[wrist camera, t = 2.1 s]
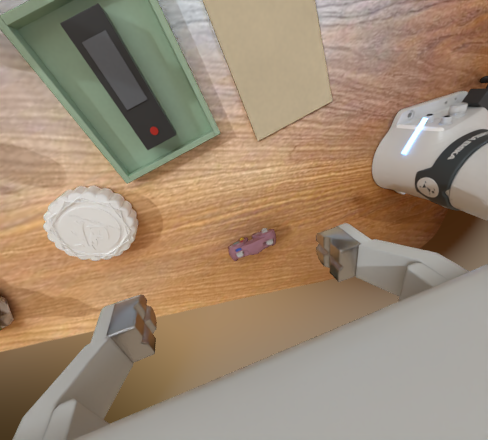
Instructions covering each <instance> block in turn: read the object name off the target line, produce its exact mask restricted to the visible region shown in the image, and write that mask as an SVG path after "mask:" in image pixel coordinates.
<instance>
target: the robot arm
mask: <svg viewBox="0 0 488 440" xmlns="http://www.w3.org/2000/svg"><path fill="white" fill-rule="evenodd" d="M480 82H481V83H486V82H487V83H488V76H485V77H483V78H482V79H481V80H480ZM372 175H373V178H374V181H375V182H376V184H377V185H378V186H380V187H382V188H386V189H392V190H395V191H396V192H397V193H399V194H410V195H413V196H416V197H420V198H423V199H427V200H430V201H432V202H434V203H436V204H439V205H441V206H442V207H445V208H449V209H452V210H462V211H464V212H467V213H469V214H472V215H474V216H477V217H479V218H482V219H484V220H487V221H488V85H487V87H486V89H471V90H470V91H469V92H466V91H459V92H456V93H452V94H449V95H446V96H443V97H440V98H437V99H433V100H430V101H427V102H424V103H421V104H417V105H414V106H411V107H408V108H405V109H402V110H400V111H399V112H398V113H397V115H396V116H395V119H394V121H393V123H392V126H391V128H390V130H389V131H388V133H387V134H386V135H385V137H384V138H383V139H382V141H381V143H380V144H379V146H378V148H377V150H376V152H375V155H374V158H373V163H372ZM316 241H317V242H318V243H319V244H318V246H317V247H316V252H317V256H318V259H319V260H320V262H321V263H322V264H323V265H324V266H325V267H328V268H330V273H331V274H332V275H333V276H334V277H335V278H336V279H337V281H338V282H340V281H343V280H346V279H349V278H352V277H354V276H356V277H357V278H359V279H362V280H364V281H366V282H368V283H370V284H372V285H375V286H377V287H379V288H381V289H383V290H386V291H388V292H390V293H392V294H395V295H397V296H399V300H398V302H397V303H394V304H392V305H389V306H387V307H385V308H382V309H380V310H378V311H375V312H373V313H370V314H368V315H366V316H363V317H361V318H359V319H356V320H354V321H352V322H349V323H347V324H344V325H342V326H340V327H337V328H335V329H333V330H330V331H328V332H326V333H323V334H321V335H319V336H316V337H314V338H311V339H309V340H307V341H304V342H302V343H300V344H297V345H295V346H293V347H291V348H288V349H286V350H283V351H281V352H278V353H276V354H274V355H271V356H269V357H267V358H265V359H262V360H260V361H257V362H255V363H252V364H250V365H248V366H246V367H243V368H241V369H238V370H236V371H234V372H231V373H229V374H226V375H224V376H222V377H219V378H217V379H215V380H213V381H210V382H208V383H206V384H203V385H200V386H198V387H196V388H194V389H191V390H189V391H186V392H184V393H182V394H179V395H177V396H174V397H172V398H170V399H167V400H165V401H163V402H160V403H158V404H156V405H153V406H151V407H148V408H146V409H144V410H141V411H139V412H137V413H135V414H132V415H130V416H128V417H125V418H123V419H120V420H118V421H115V422H113V423H111V424H109V423H107V422H106V421H105V420H103V419H104V417H105V415H106V414H107V412H108V410H109V408H110V406H111V405H112V403H113V401H114V399H115V397H116V395H117V393H118V391H119V390H120V388H121V386H122V384H123V382H124V381H125V379H126V377H127V375H128V373H129V371H130V369H131V368H132V366H133V363H134V362H136V361H139V360H141V359H143V358H146V357H148V356H150V355H153V354H154V353H155V342H156V338H155V337H154V335H153V333H154V331H155V330H156V323H157V322H156V316H155V313H154V311H153V309H152V307H150V306H148V305H146V304H147V299H146V298H145V297H144V295H138V296H135V297H132V298H129V299H126V300H122V301H119V302H117V303H114V304H111V305H108V306H105V307H104V308H103V309H102V310H101V313H100V316H99V319H98V322H97V325H96V328H95V331H94V334H93V337H92V340H91V343H90V344H88V345H86V346H85V347H84V348H83V349H82V351H81V352H80V353H79V354H78V355H77V356H76V357H75V359H74V360H73V361H72V362H71V363H70V364H69V366H68V367H67V368H66V369H65V370H64V371H63V372H62V374H61V375H60V376H59V377H58V378H57V379H56V380H55V381H54V382H53V384H52V385H51V386H50V387H49V388H48V389H47V391H46V392H45V393H44V394H43V395H42V396H41V397H40V398H39V400H38V401H37V402H36V403H35V404H34V405H33V406H32V408H31V409H30V410H29V411H28V412H27V413H26V414H25V416H24V417H23V418H22V420H21V423H20V425H19V427H18V429H17V431H16V434H15V436H14V438H13V440H488V264H486V265H484V266H481V267H479V268H477V269H474V270H472V271H470V272H469V271H468V270H466V269H464V268H462V267H461V266H459V265H457V264H455V263H454V262H452V261H450V260H449V259H447V258H445V257H444V256H441V255H440V254H438V253H435V252H430V251H425V250H421V249H417V248H412V247H408V246H403V245H399V244H394V243H390V242H385V241H381V240H376V239H374V240H371V239H370V238H368V237H367V236H365V235H364V234H362V233H361V232H360V231H358V230H357V229H355V228H354V227H352V226H351V225H349V224H347V223H344V224H341V225H339V226H336V227H334V228H331V229H328V230H325V231H323V232H320V233H317V235H316Z"/></svg>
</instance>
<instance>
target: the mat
mask: <svg viewBox="0 0 488 440" xmlns="http://www.w3.org/2000/svg"><path fill="white" fill-rule="evenodd" d="M203 3H204V5H205V8H206V10H207V13H208V15H209V18H210V20H211V23H212V26H213V28H214V31H215V33H216V36H217V38H218V41H219V44H220V46H221V49H222V51H223V54H224V56H225V59H226V61H227V64H228V67H229V69H230V72H231V74H232V77H233V79H234V82H235V85H236V87H237V90H238V92H239V95H240V97H241V100H242V102H243V105H244V108H245V110H246V113H247V115H248V118H249V120H250V123H251V126H252V128H253V131H254V133H255V136H256V138H257V141H259V140H261V139H263V138H265V137H267V136H269V135H271V134H272V133H274V132H276V131H278V130H280V129H282V128H283V127H285V126H287V125H289V124H291V123H293V122H295V121H296V120H298V119H300V118H302V117H304V116H306V115H308V114H309V113H311V112H313V111H315V110H317V109H319V108H321V107H322V106H324V105H326V104H328V103H330V102H332V95H331V90H330V84H329V78H328V73H327V67H326V61H325V56H324V50H323V45H322V39H321V33H320V28H319V22H318V16H317V11H316V5H315V0H203Z"/></svg>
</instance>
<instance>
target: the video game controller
mask: <svg viewBox="0 0 488 440" xmlns="http://www.w3.org/2000/svg"><path fill="white" fill-rule="evenodd" d="M266 229H267V228H263V229H262V230H261V231H262V232H258V233H255V234H253V235H252V238H253V239H252V240H249V241H248V238H247V237H246V238H243V237H242V238H240V240H238V241H237V242H235V243H234V244H232V245H230V246H229V247H228V248H229V255H230V256H231V257H232V259H233V260H234V261H237V260H238V258H241V257H245V256H248V255H254V254H258V253H259V252H261V251H262V250H263V249H265V248H267V247H269V246H271V245H275V243H276V234H275V232H274V229H270V230H266Z"/></svg>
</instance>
